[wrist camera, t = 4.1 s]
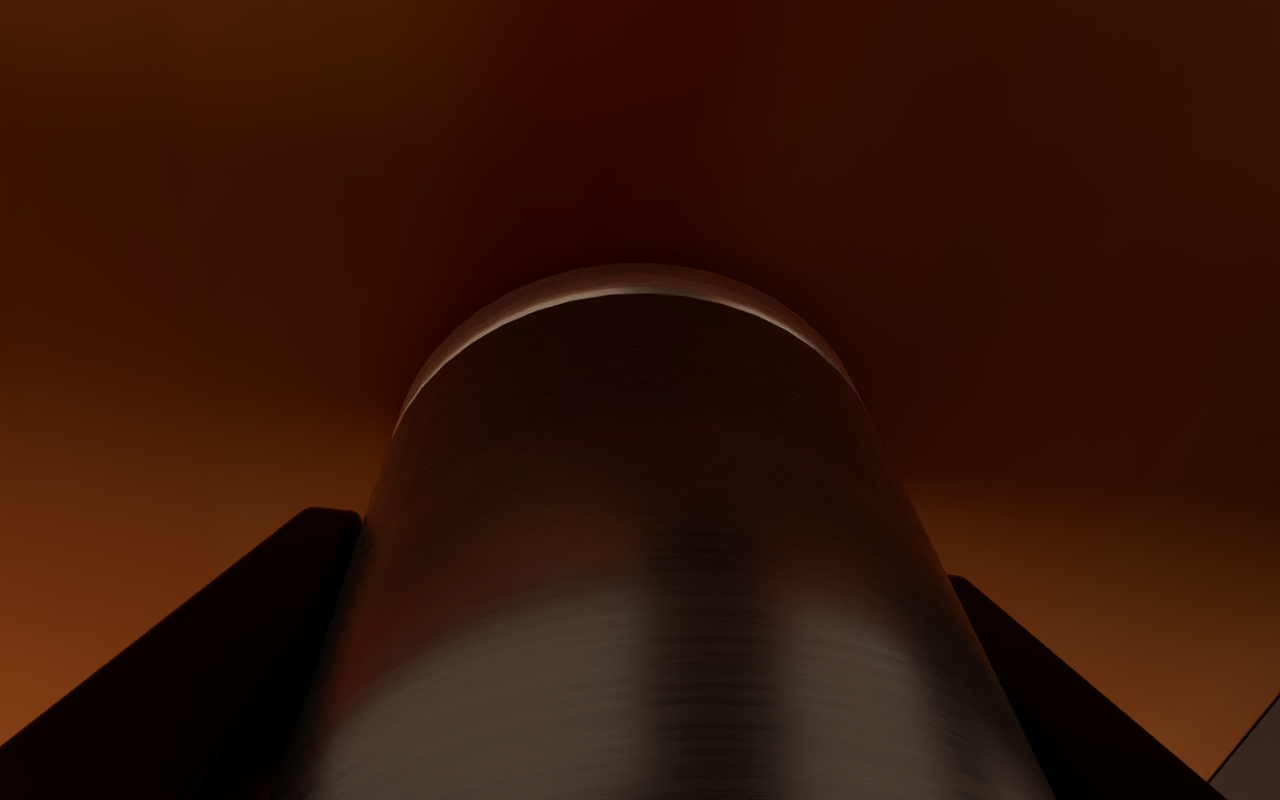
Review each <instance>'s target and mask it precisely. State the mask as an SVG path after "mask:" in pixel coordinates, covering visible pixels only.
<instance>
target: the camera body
mask: <svg viewBox="0 0 1280 800" xmlns="http://www.w3.org/2000/svg"><path fill="white" fill-rule="evenodd" d="M1209 784H1210V785H1211V786H1212V787H1213V788H1215V789H1216V790H1217V791H1218V792H1219V793H1220V794H1222V795H1223V796H1224V797H1225V798H1226V799H1228V800H1280V698H1279V699H1278V701H1277V702H1276V703H1275V704H1274V706H1273V707H1272V708H1271V709H1270V710H1269V712H1268V713H1267V714H1266V715H1265V717H1264V718H1263V719H1262V720H1261V721H1260V723H1259V724H1258V725H1257V726H1256V727H1255V729H1254V730H1253V731H1252V732H1251V734H1250V735H1249V736H1248V737H1247V738H1246V740H1245V741H1244V742H1243V743H1242V744H1241V746H1240V747H1239V748H1238V749H1237V751H1236V752H1235V753H1234V754H1233V755H1232V757H1231V758H1230V759H1229V760H1228V762H1227V763H1226V764H1225V765H1224V766H1223V768H1222V769H1221V770H1220V771H1219V772H1218V774H1217V775H1216V776H1215V777H1214V779H1213V780H1212V781H1211V782H1210V783H1209Z"/></svg>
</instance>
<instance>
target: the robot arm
mask: <svg viewBox="0 0 1280 800" xmlns="http://www.w3.org/2000/svg"><path fill="white" fill-rule="evenodd" d="M361 527H362V520H361V518H360V516H359V514H358V513H356V512H355V511H351V510H341V509H332V508H323V507H309V508H307V509H304V510H303V511H301V512H300V513H298V514H297V515H296V516H295V517H293V518H292V519H291V520H289V521H288V522H287V523H286V524H284V525H283V526H282V527H281V528H279V529H278V530H277V531H275V532H274V533H273V534H272V535H270V536H269V537H268V538H266V539H265V540H264V541H263V542H261V543H260V544H259V545H257V546H256V547H255V548H254V549H252V550H251V551H250V552H248V553H247V554H246V555H245V556H243V557H242V558H241V559H239V560H238V561H237V562H236V563H234V564H233V565H232V566H231V567H229V568H228V569H227V570H225V571H224V572H223V573H222V574H220V575H219V576H218V577H216V578H215V579H214V580H213V581H211V582H210V583H209V584H207V585H206V586H205V587H204V588H202V589H201V590H200V591H198V592H197V593H196V594H195V595H193V596H192V597H191V598H190V599H188V600H187V601H186V602H184V603H183V604H182V605H181V606H179V607H178V608H177V609H175V610H174V611H173V612H172V613H170V614H169V615H168V616H166V617H165V618H164V619H163V620H161V621H160V622H159V623H157V624H156V625H155V626H154V627H152V628H151V629H150V630H149V631H147V632H146V633H145V634H143V635H142V636H141V637H140V638H138V639H137V640H136V641H134V642H133V643H132V644H131V645H129V646H128V647H127V648H125V649H124V650H123V651H122V652H120V653H119V654H118V655H116V656H115V657H114V658H113V659H111V660H110V661H109V662H107V663H106V664H105V665H104V666H102V667H101V668H100V669H99V670H97V671H96V672H95V673H93V674H92V675H91V676H90V677H88V678H87V679H86V680H84V681H83V682H82V683H81V684H79V685H78V686H77V687H75V688H74V689H73V690H72V691H70V692H69V693H68V694H66V695H65V696H64V697H63V698H61V699H60V700H59V701H58V702H56V703H55V704H54V705H52V706H51V707H50V708H49V709H47V710H46V711H45V712H43V713H42V714H41V715H40V716H38V717H37V718H36V719H34V720H33V721H32V722H31V723H29V724H28V725H27V726H25V727H24V728H23V729H22V730H20V731H19V732H18V733H17V734H15V735H14V736H13V737H11V738H10V739H9V740H8V741H6V742H5V743H4V744H2V745H1V746H0V800H269V797H270V794H271V791H272V789H273V786H274V783H275V780H276V777H277V774H278V771H279V768H280V765H281V762H282V759H283V756H284V753H285V750H286V747H287V744H288V741H289V738H290V736H291V733H292V730H293V727H294V724H295V721H296V718H297V715H298V712H299V709H300V706H301V703H302V700H303V697H304V694H305V691H306V688H307V685H308V683H309V680H310V677H311V674H312V671H313V668H314V665H315V662H316V659H317V656H318V653H319V650H320V647H321V644H322V641H323V638H324V635H325V633H326V630H327V627H328V624H329V621H330V618H331V615H332V612H333V609H334V606H335V603H336V600H337V597H338V594H339V591H340V588H341V585H342V582H343V580H344V577H345V574H346V571H347V568H348V565H349V562H350V559H351V556H352V553H353V550H354V547H355V544H356V541H357V538H358V535H359V532H360V530H361ZM947 576H948V578H949V580H950V582H951V584H952V586H953V588H954V590H955V592H956V594H957V596H958V598H959V600H960V602H961V604H962V607H963V609H964V611H965V613H966V615H967V617H968V619H969V621H970V623H971V625H972V627H973V629H974V631H975V633H976V635H977V637H978V639H979V641H980V643H981V645H982V647H983V649H984V652H985V654H986V656H987V658H988V660H989V662H990V664H991V666H992V668H993V670H994V672H995V674H996V676H997V678H998V680H999V682H1000V684H1001V686H1002V688H1003V690H1004V692H1005V695H1006V697H1007V699H1008V701H1009V703H1010V705H1011V707H1012V709H1013V711H1014V713H1015V715H1016V717H1017V719H1018V721H1019V723H1020V725H1021V727H1022V729H1023V731H1024V733H1025V735H1026V737H1027V740H1028V742H1029V744H1030V746H1031V748H1032V750H1033V752H1034V754H1035V756H1036V758H1037V760H1038V762H1039V764H1040V766H1041V768H1042V770H1043V772H1044V774H1045V776H1046V778H1047V780H1048V782H1049V785H1050V787H1051V789H1052V791H1053V793H1054V795H1055V797H1056V799H1057V800H1228V799H1226V798H1225V797H1224V796H1223V795H1222V794H1220V793H1219V792H1218V791H1217V790H1216V789H1215V788H1213V787H1212V786H1211V785H1210V784H1209V783H1207V782H1206V781H1205V780H1204V779H1203V778H1201V777H1200V776H1199V775H1198V774H1197V773H1196V772H1194V771H1193V770H1192V769H1191V768H1190V767H1188V766H1187V765H1186V764H1185V763H1184V762H1183V761H1181V760H1180V759H1179V758H1178V757H1177V756H1175V755H1174V754H1173V753H1172V752H1171V751H1169V750H1168V749H1167V748H1166V747H1165V746H1164V745H1162V744H1161V743H1160V742H1159V741H1158V740H1156V739H1155V738H1154V737H1153V736H1152V735H1150V734H1149V733H1148V732H1147V731H1146V730H1145V729H1143V728H1142V727H1141V726H1140V725H1139V724H1137V723H1136V722H1135V721H1134V720H1133V719H1132V718H1130V717H1129V716H1128V715H1127V714H1126V713H1124V712H1123V711H1122V710H1121V709H1120V708H1118V707H1117V706H1116V705H1115V704H1114V703H1113V702H1111V701H1110V700H1109V699H1108V698H1107V697H1105V696H1104V695H1103V694H1102V693H1101V692H1099V691H1098V690H1097V689H1096V688H1095V687H1094V686H1092V685H1091V684H1090V683H1089V682H1088V681H1086V680H1085V679H1084V678H1083V677H1082V676H1081V675H1079V674H1078V673H1077V672H1076V671H1075V670H1073V669H1072V668H1071V667H1070V666H1069V665H1067V664H1066V663H1065V662H1064V661H1063V660H1062V659H1060V658H1059V657H1058V656H1057V655H1056V654H1054V653H1053V652H1052V651H1051V650H1050V649H1048V648H1047V647H1046V646H1045V645H1044V644H1043V643H1041V642H1040V641H1039V640H1038V639H1037V638H1035V637H1034V636H1033V635H1032V634H1031V633H1030V632H1028V631H1027V630H1026V629H1025V628H1024V627H1022V626H1021V625H1020V624H1019V623H1018V622H1016V621H1015V620H1014V619H1013V618H1012V617H1011V616H1009V615H1008V614H1007V613H1006V612H1005V611H1003V610H1002V609H1001V608H1000V607H999V606H997V605H996V604H995V603H994V602H993V601H992V600H990V599H989V598H988V597H987V596H986V595H984V594H983V593H982V592H981V591H980V590H979V589H977V588H976V587H975V586H974V585H973V584H971V583H970V582H969V581H968V580H966V579H965V578H963V577H960V576H956V575H949V574H947Z"/></svg>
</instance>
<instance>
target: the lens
mask: <svg viewBox="0 0 1280 800" xmlns="http://www.w3.org/2000/svg"><path fill="white" fill-rule="evenodd" d="M269 800H1057V799H1056V797H1055V795H1054V793H1053V791H1052V789H1051V787H1050V785H1049V782H1048V780H1047V778H1046V776H1045V774H1044V772H1043V770H1042V768H1041V766H1040V764H1039V762H1038V760H1037V758H1036V756H1035V754H1034V752H1033V750H1032V748H1031V746H1030V744H1029V742H1028V740H1027V737H1026V735H1025V733H1024V731H1023V729H1022V727H1021V725H1020V723H1019V721H1018V719H1017V717H1016V715H1015V713H1014V711H1013V709H1012V707H1011V705H1010V703H1009V701H1008V699H1007V697H1006V695H1005V692H1004V690H1003V688H1002V686H1001V684H1000V682H999V680H998V678H997V676H996V674H995V672H994V670H993V668H992V666H991V664H990V662H989V660H988V658H987V656H986V654H985V652H984V649H983V647H982V645H981V643H980V641H979V639H978V637H977V635H976V633H975V631H974V629H973V627H972V625H971V623H970V621H969V619H968V617H967V615H966V613H965V611H964V609H963V607H962V604H961V602H960V600H959V598H958V596H957V594H956V592H955V590H954V588H953V586H952V584H951V582H950V580H949V578H948V576H947V574H946V572H945V570H944V568H943V566H942V564H941V562H940V559H939V557H938V555H937V553H936V551H935V549H934V547H933V545H932V543H931V541H930V539H929V537H928V535H927V533H926V531H925V529H924V527H923V525H922V523H921V521H920V519H919V517H918V514H917V512H916V510H915V508H914V506H913V504H912V502H911V500H910V498H909V496H908V494H907V492H906V490H905V488H904V486H903V484H902V482H901V480H900V478H899V476H898V474H897V471H896V469H895V467H894V465H893V463H892V461H891V459H890V457H889V455H888V453H887V451H886V449H885V447H884V445H883V443H882V441H881V439H880V437H879V435H878V433H877V431H876V429H875V426H874V424H873V422H872V420H871V418H870V416H869V414H868V412H867V410H866V408H865V406H864V404H863V402H862V400H861V398H860V396H859V394H858V392H857V390H856V388H855V386H854V384H853V382H852V380H851V378H850V376H849V375H848V373H847V371H846V369H845V367H844V366H843V364H842V362H841V360H840V359H839V358H838V356H837V355H836V354H835V352H834V351H833V350H832V349H831V347H830V346H829V345H828V343H827V342H826V341H825V340H824V338H823V337H822V336H821V335H820V334H819V333H818V332H816V331H815V330H814V329H813V328H812V327H811V326H810V325H809V324H808V323H807V322H806V321H805V320H804V319H803V318H802V317H800V316H799V315H797V314H796V313H795V312H793V311H792V310H790V309H789V308H787V307H786V306H785V305H783V304H782V303H780V302H779V301H777V300H776V299H774V298H772V297H770V296H768V295H766V294H764V293H762V292H761V291H759V290H757V289H755V288H753V287H751V286H749V285H747V284H744V283H741V282H739V281H736V280H733V279H730V278H727V277H724V276H721V275H719V274H716V273H712V272H708V271H703V270H698V269H693V268H689V267H684V266H679V265H667V264H656V263H618V264H605V265H598V266H592V267H586V268H579V269H573V270H570V271H566V272H563V273H559V274H556V275H553V276H549V277H546V278H542V279H539V280H537V281H534V282H532V283H530V284H527V285H525V286H523V287H520V288H518V289H516V290H513V291H511V292H509V293H507V294H505V295H503V296H502V297H500V298H498V299H497V300H495V301H493V302H492V303H490V304H488V305H487V306H485V307H483V308H482V309H480V310H479V311H477V312H476V313H475V314H473V315H472V316H471V317H470V318H468V319H467V320H466V321H465V322H463V323H462V324H461V325H460V326H458V327H457V328H456V329H455V330H454V331H453V332H452V333H451V334H450V335H449V336H448V337H447V338H446V339H445V340H444V341H443V342H442V343H441V344H440V345H439V346H438V348H437V349H436V350H435V351H434V352H433V353H432V354H431V356H430V357H429V359H428V360H427V362H426V363H425V364H424V366H423V367H422V369H421V370H420V372H419V373H418V375H417V376H416V378H415V380H414V382H413V384H412V386H411V388H410V390H409V392H408V394H407V396H406V399H405V401H404V403H403V406H402V409H401V412H400V415H399V418H398V421H397V424H396V426H395V429H394V432H393V435H392V438H391V441H390V444H389V447H388V450H387V453H386V456H385V459H384V462H383V465H382V468H381V471H380V474H379V477H378V479H377V482H376V485H375V488H374V491H373V494H372V497H371V500H370V503H369V506H368V509H367V512H366V515H365V518H364V521H363V524H362V527H361V530H360V532H359V535H358V538H357V541H356V544H355V547H354V550H353V553H352V556H351V559H350V562H349V565H348V568H347V571H346V574H345V577H344V580H343V582H342V585H341V588H340V591H339V594H338V597H337V600H336V603H335V606H334V609H333V612H332V615H331V618H330V621H329V624H328V627H327V630H326V633H325V635H324V638H323V641H322V644H321V647H320V650H319V653H318V656H317V659H316V662H315V665H314V668H313V671H312V674H311V677H310V680H309V683H308V685H307V688H306V691H305V694H304V697H303V700H302V703H301V706H300V709H299V712H298V715H297V718H296V721H295V724H294V727H293V730H292V733H291V736H290V738H289V741H288V744H287V747H286V750H285V753H284V756H283V759H282V762H281V765H280V768H279V771H278V774H277V777H276V780H275V783H274V786H273V789H272V791H271V794H270V797H269Z"/></svg>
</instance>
